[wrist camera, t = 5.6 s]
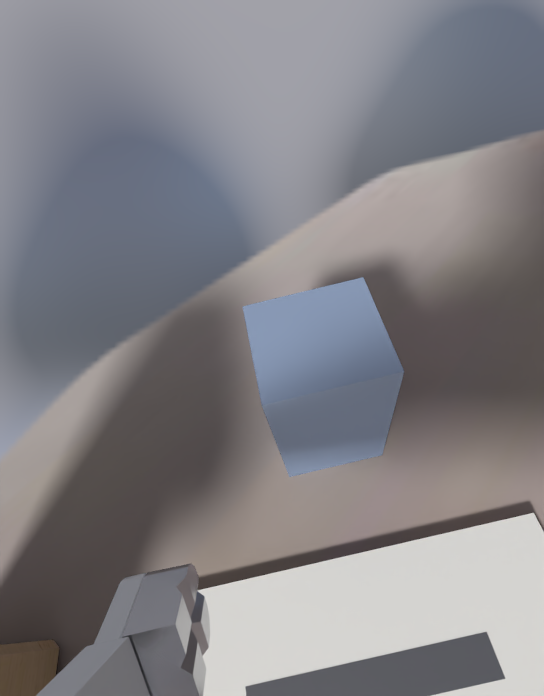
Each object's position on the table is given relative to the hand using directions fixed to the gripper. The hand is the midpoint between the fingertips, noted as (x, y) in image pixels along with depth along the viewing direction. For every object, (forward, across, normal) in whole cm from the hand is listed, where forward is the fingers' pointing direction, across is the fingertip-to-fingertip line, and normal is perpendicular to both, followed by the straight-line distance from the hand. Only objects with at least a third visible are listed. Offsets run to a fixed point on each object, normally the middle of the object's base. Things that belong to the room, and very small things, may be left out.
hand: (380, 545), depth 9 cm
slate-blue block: (+14, 0, +3) cm, 14 cm away
